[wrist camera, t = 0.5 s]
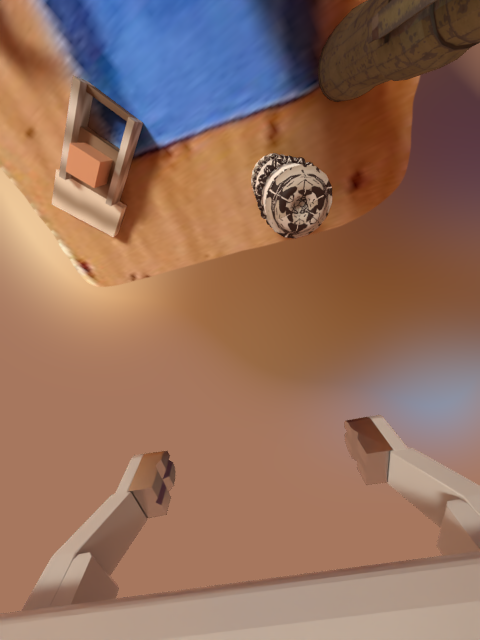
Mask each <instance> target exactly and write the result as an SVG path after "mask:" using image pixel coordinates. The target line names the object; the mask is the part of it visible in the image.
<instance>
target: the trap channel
mask: <svg viewBox="0 0 480 640" xmlns="http://www.w3.org/2000/svg"><path fill="white" fill-rule="evenodd" d="M93 97H94V98H96V99H97V100H98V101H100V102H101V103H102V104H104V105H105V106H107V107H108V108H109V109H111V110H112V111H113V112H115V113H116V114H117V115H119V116H120V117H122V118H123V119H124V120H126V121H127V124H126V127H125V131H124V135H123V139H122V142H121V146H120V149H119V148H118V147H116V146H115V145H113V144H112V143H110V142H109V141H107V140H106V139H104V138H103V137H101V136H100V135H98V134H97V133H96V132H94V131H93V130H91V129H90V128H88V121H89V116H90V111H91V105H92V100H93ZM142 125H143V123H142V122H141V121H140V120H138V119H137V118H136V117H134V116H133V115H132V114H130V113H129V112H128V111H126V110H125V109H124V108H122V107H121V106H120V105H118V104H117V103H116V102H114V101H113V100H112V99H110V98H109V97H108V96H106V95H105V94H104V93H102V92H101V91H100V90H98V89H97V88H96V87H94V86H93V85H92V84H90V83H89V82H87V81H85V80H83V79H80V78H78V77H75V76H73V79H72V86H71V93H70V100H69V107H68V115H67V122H66V129H65V136H64V143H63V151H62V158H61V165H60V169H58V170H56V176H55V183H54V191H53V199H52V205H54V206H56V207H58V208H59V209H61V210H63V211H65V212H67V213H69V214H71V215H73V216H74V217H76V218H78V219H80V220H82V221H84V222H86V223H88V224H90V225H91V226H93V227H95V228H97V229H99V230H101V231H103V232H105V233H106V234H108V235H110V236H112V237H115V236H116V235H117V234H118V232H119V229H120V226H121V223H122V220H123V217H124V213H125V210H126V207H127V205H125V204H123V203H121V202H120V199H121V196H122V192H123V189H124V186H125V182H126V179H127V176H128V172H129V169H130V165H131V162H132V159H133V155H134V152H135V149H136V145H137V142H138V139H139V135H140V132H141V129H142ZM70 143H87V144H89V145H90V146H92V147H94V148H95V149H97V150H98V151H100V152H101V153H103V154H104V155H106V156H107V157H109V158H110V159H112V160H113V161H112V165H111V169H110V173H109V177H108V181H107V184H105V185H102V186H99V187H96V188H93V187H91V186H90V185H88V184H86V183H85V182H83V181H81V180H79V179H78V178H76V177H74V176H73V175H71V174H69V173H68V172H66V165H67V158H68V152H69V145H70Z"/></svg>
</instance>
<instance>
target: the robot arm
mask: <svg viewBox="0 0 480 640" xmlns="http://www.w3.org/2000/svg"><path fill="white" fill-rule="evenodd" d="M344 427H345V429H346V431H347V432H346V433H345V442H346V446H347V449H348V451H349V453H350V455H351V457H352V458H353V459H354V460H356V461H357V469H358V471H359V473H360V475H361V476H362V478H363V480H364V482H365V484H366V485H369V484H378V483H386V482H388V484H389V485H390V486H391V487H393V488H394V489H395V490H396V491H397V492H399V493H400V494H401V495H402V496H403V497H404V498H406V499H407V500H408V501H409V502H410V503H412V504H413V505H414V506H415V507H416V508H418V509H419V510H420V511H421V512H422V513H423V514H425V515H426V516H427V517H428V518H429V519H431V520H432V521H433V522H434V523H435V524H437V525H438V526H439V527H440V528H441V529H440V533H439V537H438V542H437V548H438V549H439V551H440V552H441V554H442V556H437V557H429V558H421V559H413V560H406V561H398V562H390V563H383V564H375V565H368V566H360V567H352V568H345V569H337V570H329V571H322V572H314V573H307V574H299V575H292V576H284V577H276V578H268V579H262V580H253V581H246V582H238V583H230V584H222V585H215V586H207V587H200V588H192V589H185V590H177V591H169V592H162V593H154V594H146V595H139V596H132V597H124V598H117V599H116V596H117V593H118V589H119V588H118V585H117V583H116V582H115V581H114V580H113V579H112V578H111V576H110V575H111V574H112V572H113V571H114V569H115V568H116V566H117V565H118V563H119V561H120V560H121V558H122V557H123V556H124V554H125V553H126V551H127V550H128V548H129V546H130V545H131V544H132V542H133V541H134V539H135V538H136V536H137V535H138V533H139V531H140V530H141V529H142V527H143V525H144V524H145V523H146V521H147V518H152V517H157V516H163V515H167V511H168V507H169V503H170V499H171V496H170V494H169V491H170V490H171V489H172V487H173V486H174V482H175V466H174V464H173V462H171V461H170V460H169V457H170V455H169V453H168V451H162V452H154V453H147V454H140V455H134V456H133V458H132V459H131V460H130V463H129V465H128V467H127V469H126V471H125V474H124V476H123V478H122V480H121V482H120V485H119V487H118V489H117V491H116V493H115V494H113V495H111V496H110V497H109V498H108V499H107V500H106V501H105V502H104V503H103V504H102V505H101V506H100V508H98V510H97V511H96V512H95V513H94V514H93V515H92V516H91V517H90V518H89V519H88V520H87V521H86V522H85V523H84V524H83V525H82V526H81V527H80V528H79V529H78V530H77V531H76V532H75V533H74V534H73V536H71V537H70V538H69V540H67V542H66V543H65V544H64V545H63V546H62V547H61V548H60V549H59V550H58V551H57V552H56V553H55V554H54V555H53V556H52V557H51V559H50V561H49V563H48V565H47V566H46V568H45V570H44V572H43V573H42V575H41V577H40V579H39V580H38V582H37V584H36V586H35V588H34V590H33V591H32V593H31V595H30V596H29V598H28V600H27V602H26V604H25V605H24V607H23V609H22V611H17V612H10V613H3V614H0V640H480V486H479V485H477V484H475V483H474V482H472V481H470V480H469V479H467V478H465V477H463V476H461V475H460V474H458V473H456V472H454V471H452V470H451V469H449V468H447V467H445V466H444V465H442V464H440V463H438V462H437V461H435V460H433V459H431V458H429V457H428V456H426V455H424V454H422V453H421V452H419V451H417V450H415V449H413V448H408V447H407V446H406V445H405V444H404V442H403V441H402V440H401V439H400V437H399V436H398V435H397V434H396V433H395V431H394V430H393V429H392V428H391V426H390V425H389V424H388V423H387V421H386V420H385V419H384V418H383V417H382V416H381V415H376V416H370V417H363V418H358V419H352V420H347V421H345V422H344Z"/></svg>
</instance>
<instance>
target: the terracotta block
mask: <svg viewBox="0 0 480 640" xmlns="http://www.w3.org/2000/svg"><path fill="white" fill-rule="evenodd" d="M112 161H113V160H112V159H110V158H109V157H107V156H106V155H104V154H103V153H101V152H100V151H98V150H97V149H95V148H94V147H92V146H90V145H89V144H87V143H70V145H69V152H68V158H67V165H66V172H68V173H69V174H71V175H73V176H74V177H76V178H78V179H79V180H81V181H83V182H85V183H86V184H88V185H90V186H91V187H93V188H96V187H99V186H102V185H105V184H107V181H108V177H109V173H110V169H111V165H112Z"/></svg>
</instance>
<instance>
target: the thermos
mask: <svg viewBox="0 0 480 640" xmlns="http://www.w3.org/2000/svg"><path fill="white" fill-rule="evenodd" d="M479 42H480V0H368V1H366V2H363V3H362V4H360V5H359V6H357V7H355V8H354V9H352V10H351V11H350V13H349V14H348V15H347V16H346V17H345V18H344V19H343V20H342V21H341V22H340V24H339V25H338V26H337V27H336V28H335V29H334V31H333V33H332V34H331V35H330V36H329V38H328V40H327V42H326V44H325V45H324V47H323V50H322V53H321V56H320V60H319V67H318V78H319V85H320V87H321V89H322V92H323V94H324V95H325V96H326V97H327V98H328V99H330V100H333V101H336V102H337V101H345V100H351V99H354V98H357V97H359V96H361V95H363V94H365V93H367V92H368V91H370V90H371V89H372V88H373V87H375V86H376V85H379V84H381V83H384V82H387V81H389V80H393V81H399V80H406V79H410V78H413V77H416V76H419V75H421V74H424V73H427V72H430V71H433V70H436V69H439V68H441V67H443V66H445V65H447V64H449V63H451V62H453V61H455V60H457V59H458V58H459V57H460V56H461V55H463V54H464V53H465V52H466V51H467V50H468V49H469V48H470V47H472V46H474V45H476V44H478V43H479Z"/></svg>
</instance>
